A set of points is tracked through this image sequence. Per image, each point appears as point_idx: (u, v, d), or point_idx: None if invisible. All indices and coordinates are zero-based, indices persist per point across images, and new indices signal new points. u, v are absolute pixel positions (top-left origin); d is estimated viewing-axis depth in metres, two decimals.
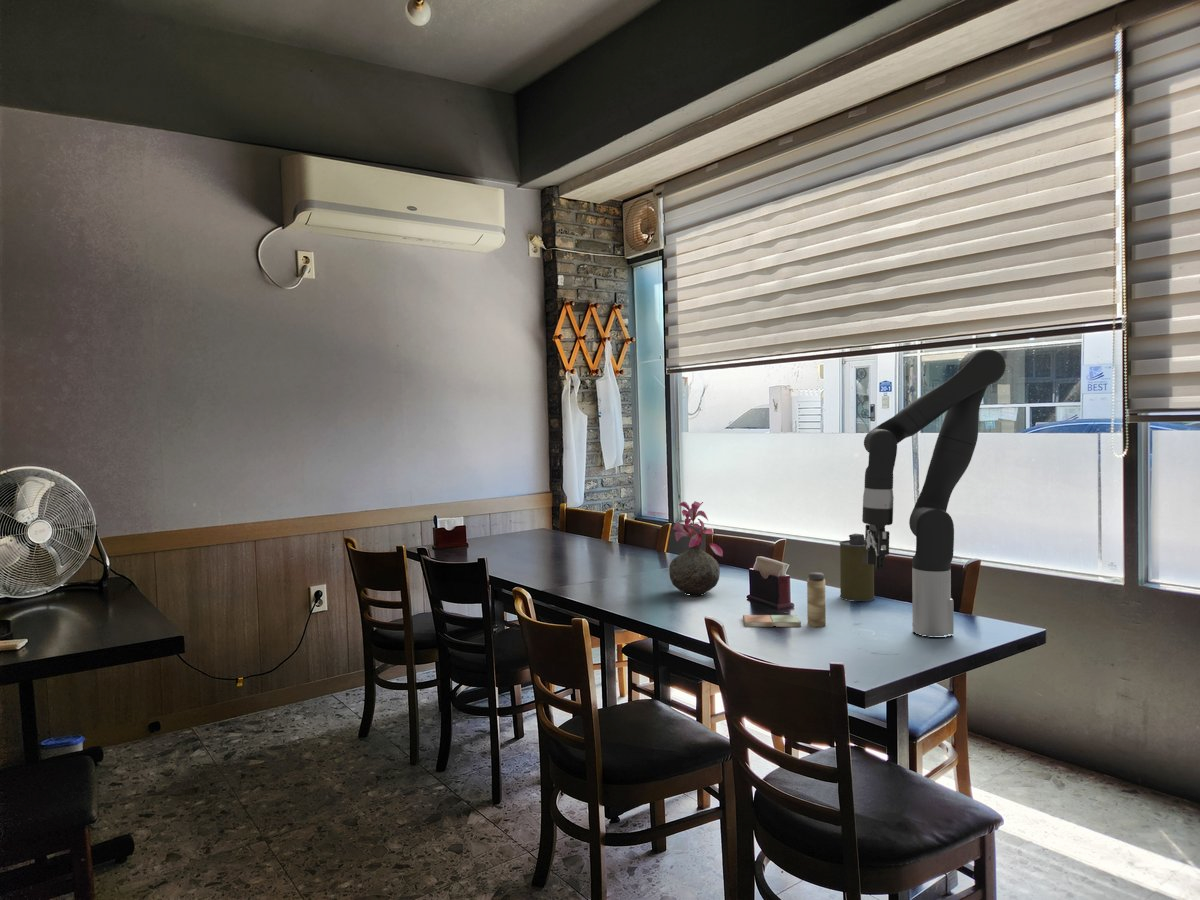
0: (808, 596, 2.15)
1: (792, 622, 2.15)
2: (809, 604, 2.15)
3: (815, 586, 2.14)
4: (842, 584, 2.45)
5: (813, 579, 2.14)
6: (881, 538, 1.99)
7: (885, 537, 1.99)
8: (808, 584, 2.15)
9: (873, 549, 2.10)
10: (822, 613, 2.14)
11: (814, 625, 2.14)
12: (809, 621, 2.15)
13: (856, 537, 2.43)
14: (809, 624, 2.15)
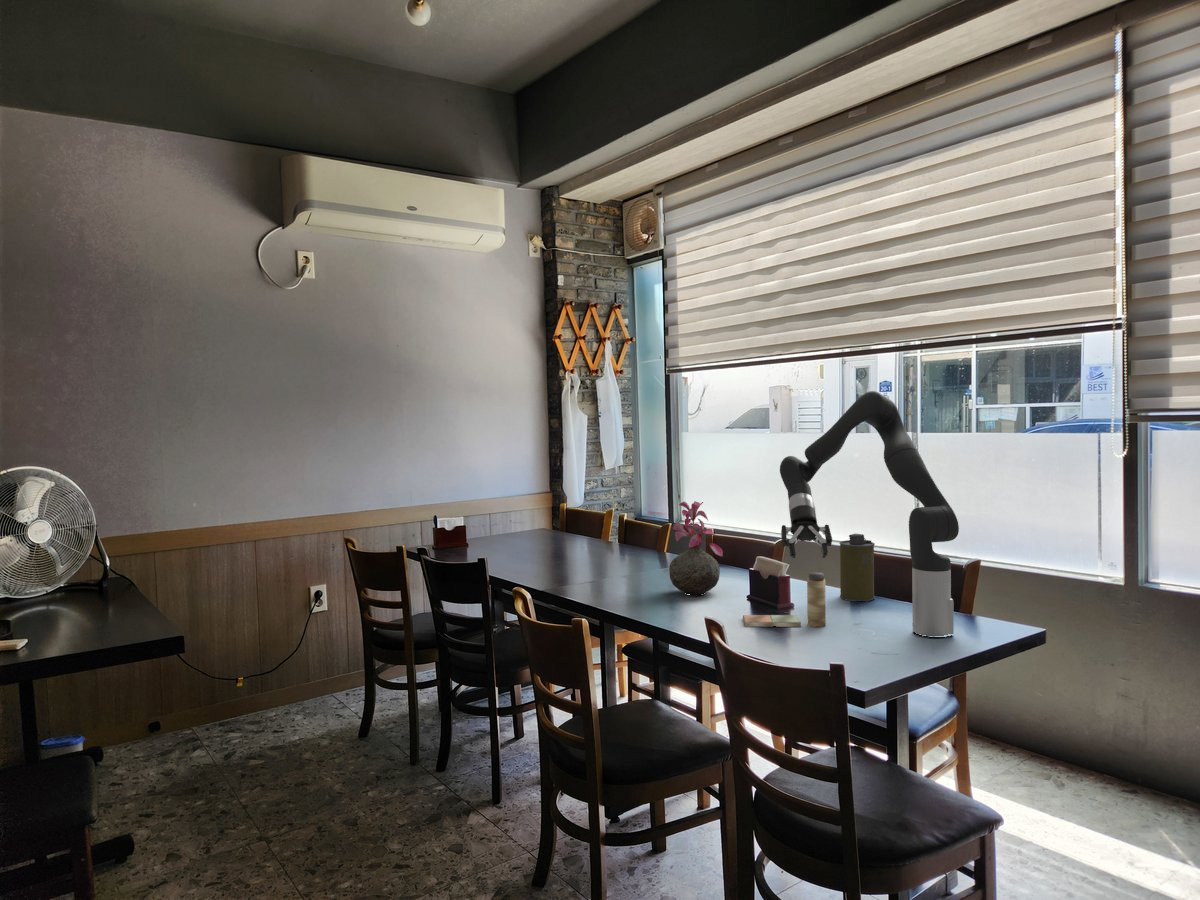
0: (808, 596, 2.15)
1: (792, 622, 2.15)
2: (809, 604, 2.15)
3: (815, 586, 2.14)
4: (842, 584, 2.45)
5: (813, 579, 2.14)
6: None
7: None
8: (808, 584, 2.15)
9: None
10: (822, 613, 2.14)
11: (814, 625, 2.14)
12: (809, 621, 2.15)
13: (856, 537, 2.43)
14: (809, 624, 2.15)
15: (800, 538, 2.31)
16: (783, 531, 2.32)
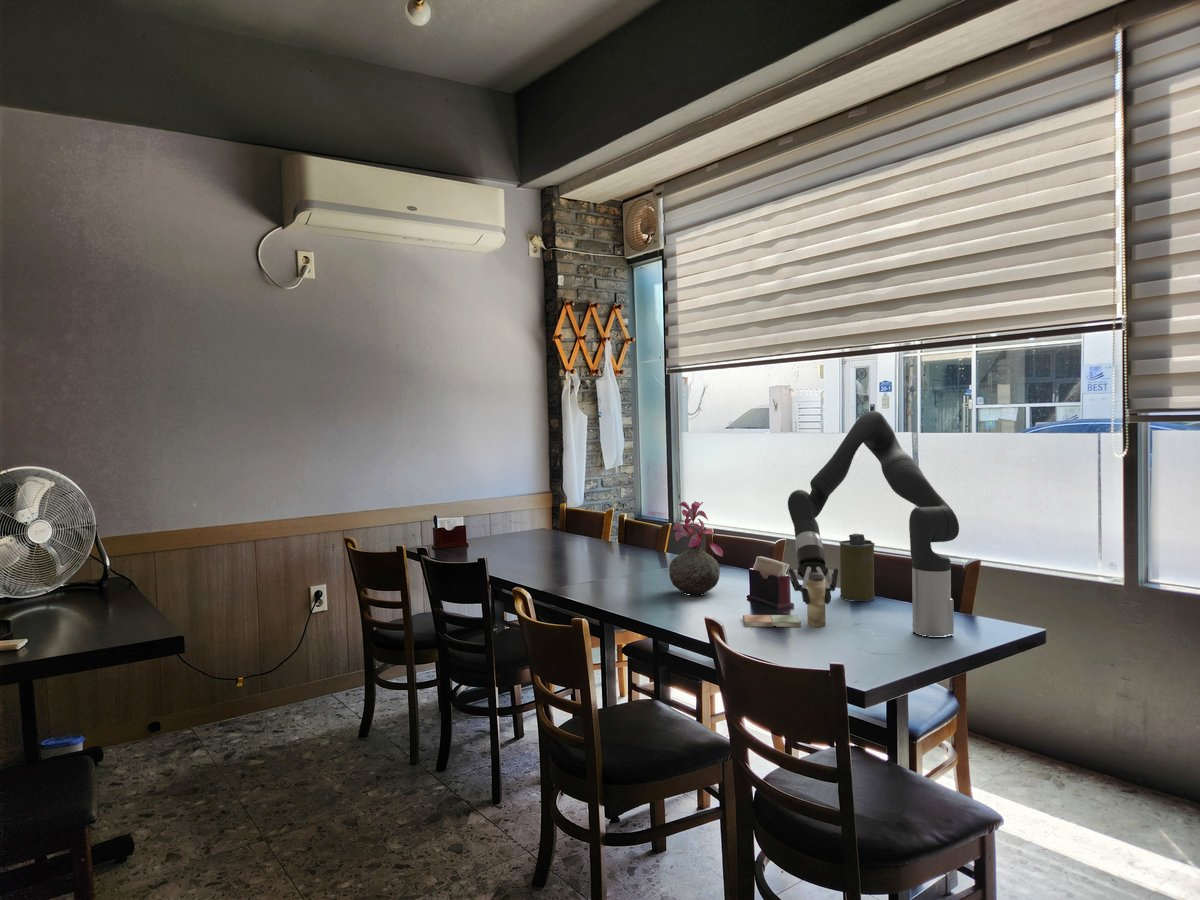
0: None
1: (792, 622, 2.15)
2: (809, 604, 2.15)
3: (815, 586, 2.14)
4: (842, 584, 2.45)
5: (813, 579, 2.14)
6: None
7: None
8: (808, 584, 2.15)
9: None
10: (821, 613, 2.14)
11: (814, 625, 2.14)
12: (809, 621, 2.15)
13: (856, 537, 2.43)
14: (809, 624, 2.15)
15: None
16: (792, 575, 2.19)
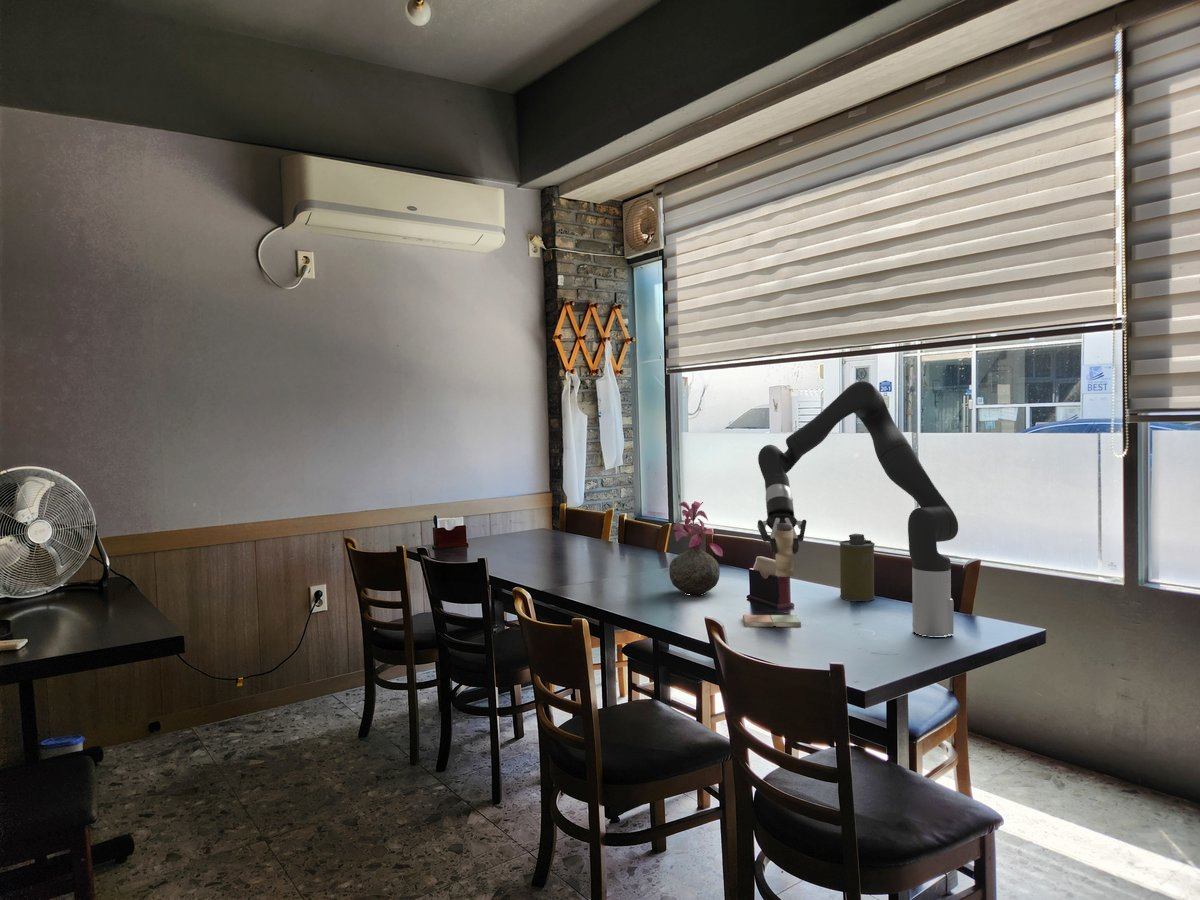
0: (776, 546, 2.18)
1: (792, 622, 2.15)
2: (777, 554, 2.17)
3: (782, 536, 2.16)
4: (842, 584, 2.45)
5: (781, 529, 2.16)
6: None
7: None
8: (776, 534, 2.18)
9: None
10: (789, 562, 2.16)
11: (782, 574, 2.17)
12: (777, 571, 2.18)
13: (856, 537, 2.43)
14: (777, 574, 2.18)
15: None
16: (761, 526, 2.21)
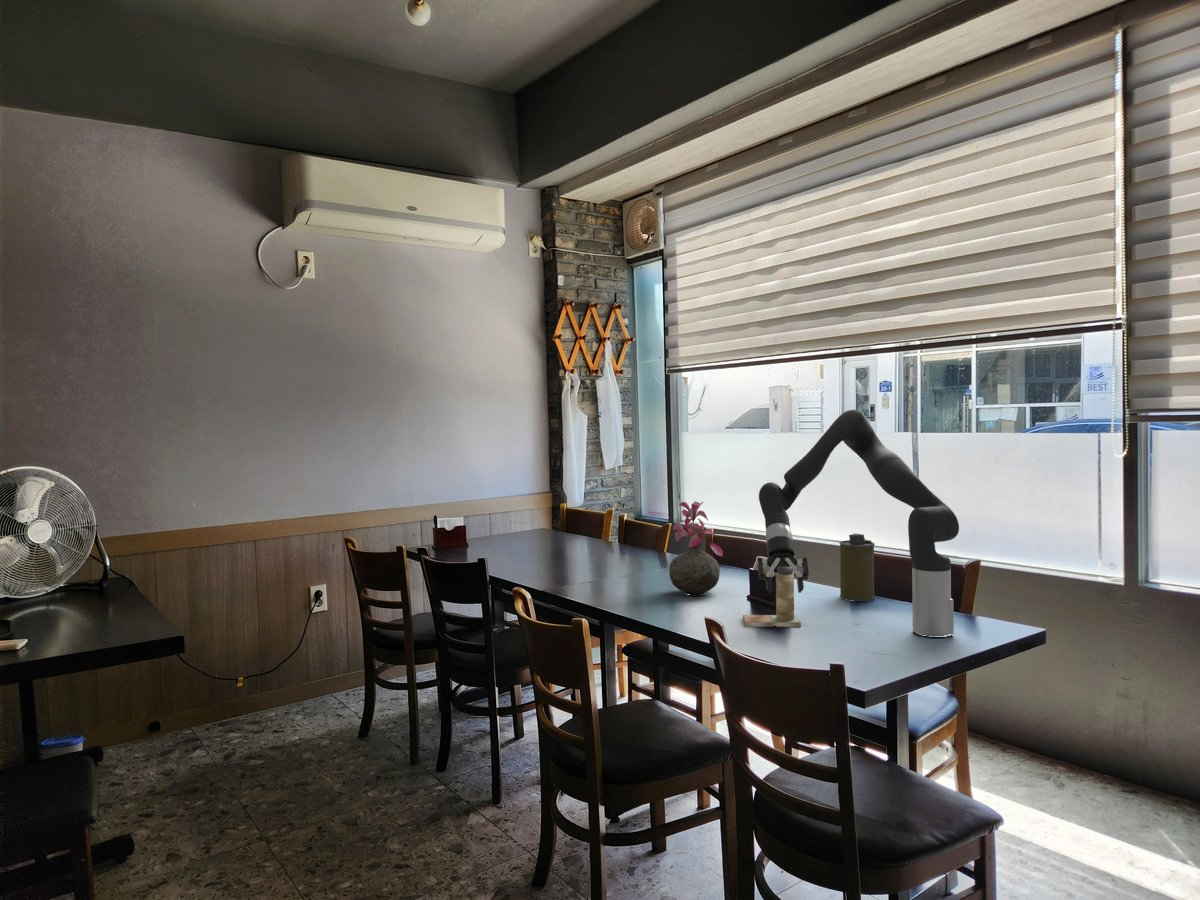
0: (777, 590, 2.18)
1: (792, 622, 2.15)
2: (778, 597, 2.18)
3: (783, 580, 2.17)
4: (842, 584, 2.45)
5: (781, 573, 2.17)
6: None
7: None
8: (777, 578, 2.18)
9: None
10: (790, 606, 2.17)
11: (782, 618, 2.17)
12: (778, 614, 2.18)
13: (856, 537, 2.43)
14: (778, 617, 2.18)
15: None
16: (759, 564, 2.22)
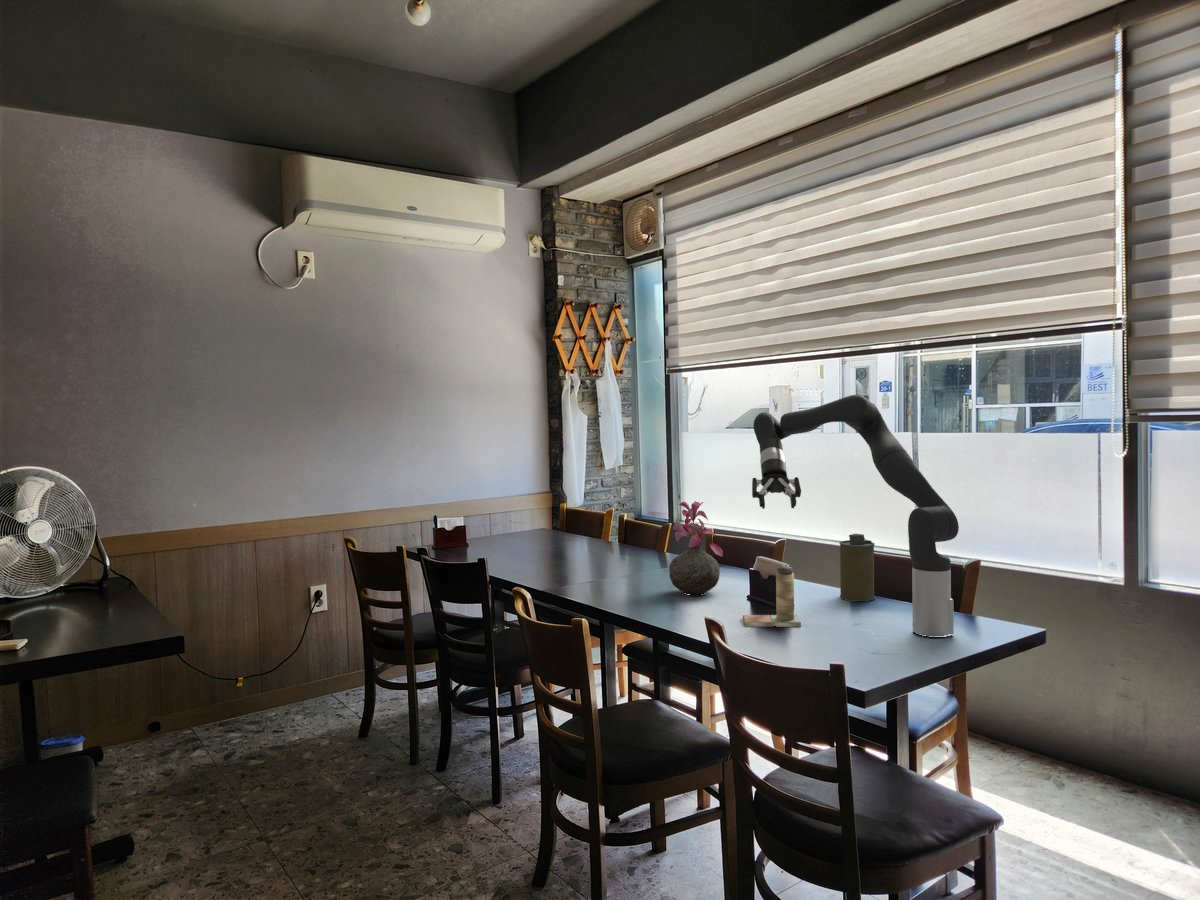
0: (777, 590, 2.18)
1: (792, 622, 2.15)
2: (778, 597, 2.18)
3: (783, 580, 2.17)
4: (842, 584, 2.45)
5: (782, 573, 2.17)
6: None
7: None
8: (777, 578, 2.18)
9: None
10: (790, 606, 2.17)
11: (783, 618, 2.17)
12: (778, 614, 2.18)
13: (856, 537, 2.43)
14: (778, 617, 2.18)
15: (770, 490, 2.37)
16: (754, 483, 2.38)
